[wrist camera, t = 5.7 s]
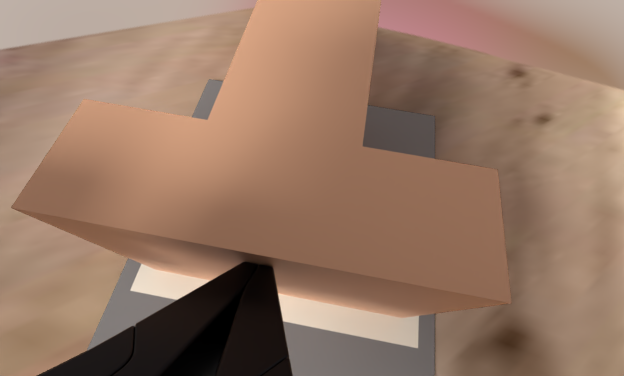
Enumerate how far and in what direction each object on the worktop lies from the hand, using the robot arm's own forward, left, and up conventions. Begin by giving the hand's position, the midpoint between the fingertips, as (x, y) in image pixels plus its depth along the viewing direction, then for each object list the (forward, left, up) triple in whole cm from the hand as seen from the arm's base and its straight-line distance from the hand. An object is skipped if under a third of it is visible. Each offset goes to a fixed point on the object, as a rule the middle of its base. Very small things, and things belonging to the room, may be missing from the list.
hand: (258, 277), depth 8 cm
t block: (+4, -4, -6) cm, 9 cm away
